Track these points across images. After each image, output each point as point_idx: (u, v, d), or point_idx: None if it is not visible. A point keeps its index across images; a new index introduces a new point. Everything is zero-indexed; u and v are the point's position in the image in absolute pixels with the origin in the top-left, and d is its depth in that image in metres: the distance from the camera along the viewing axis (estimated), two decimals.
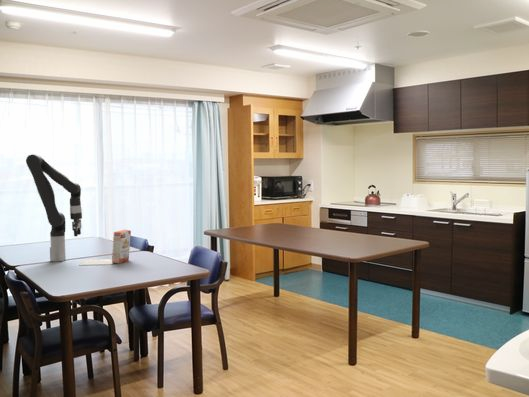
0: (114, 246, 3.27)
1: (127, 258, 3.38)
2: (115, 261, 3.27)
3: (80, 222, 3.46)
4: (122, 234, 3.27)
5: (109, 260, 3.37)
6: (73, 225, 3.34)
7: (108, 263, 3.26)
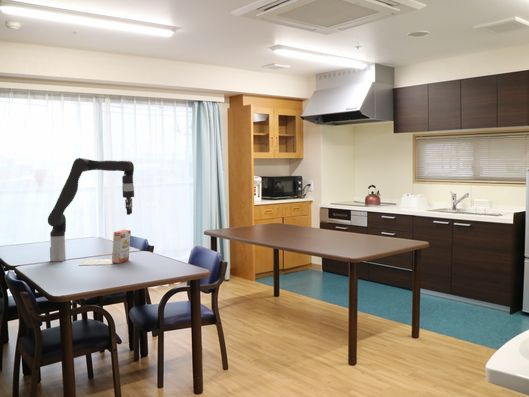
0: (114, 246, 3.27)
1: (127, 258, 3.38)
2: (115, 261, 3.27)
3: None
4: (122, 234, 3.27)
5: (109, 260, 3.37)
6: (126, 203, 3.26)
7: (108, 263, 3.26)
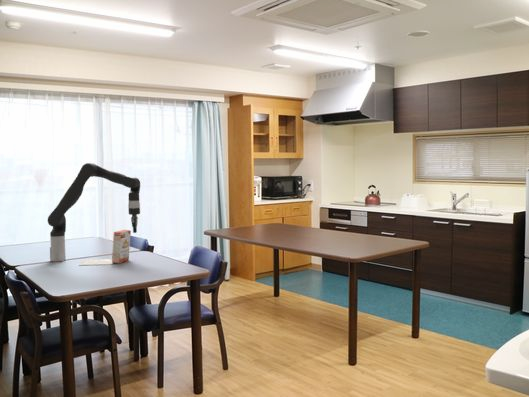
0: (114, 246, 3.27)
1: (127, 258, 3.38)
2: (115, 261, 3.27)
3: (137, 220, 3.38)
4: (122, 234, 3.27)
5: (109, 260, 3.37)
6: (133, 223, 3.29)
7: (108, 263, 3.26)
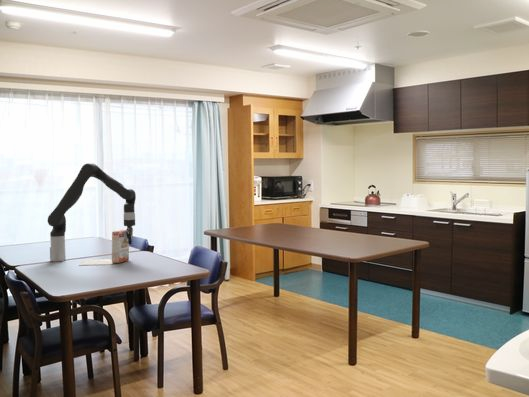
0: (113, 246, 3.27)
1: (127, 258, 3.38)
2: (115, 261, 3.27)
3: None
4: (120, 233, 3.28)
5: (109, 260, 3.37)
6: (128, 235, 3.29)
7: (108, 263, 3.26)
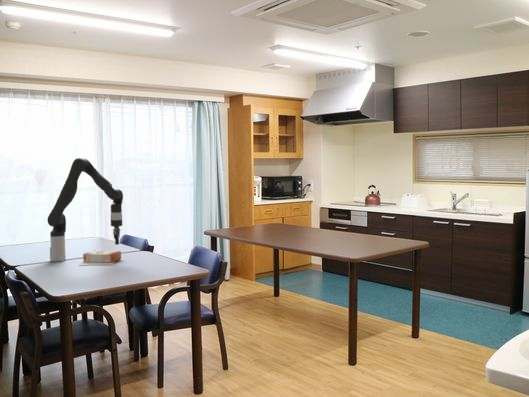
0: (95, 260, 3.30)
1: (117, 251, 3.39)
2: (109, 258, 3.28)
3: None
4: (85, 253, 3.33)
5: None
6: (115, 235, 3.28)
7: (108, 263, 3.26)
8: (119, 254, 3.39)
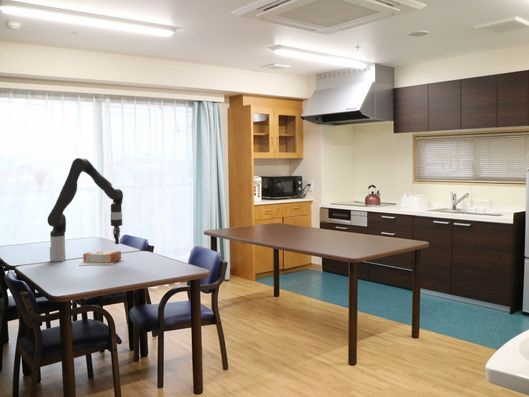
0: (95, 260, 3.30)
1: (117, 251, 3.39)
2: (109, 258, 3.28)
3: None
4: (85, 253, 3.33)
5: None
6: (114, 235, 3.28)
7: (108, 263, 3.26)
8: (119, 254, 3.39)
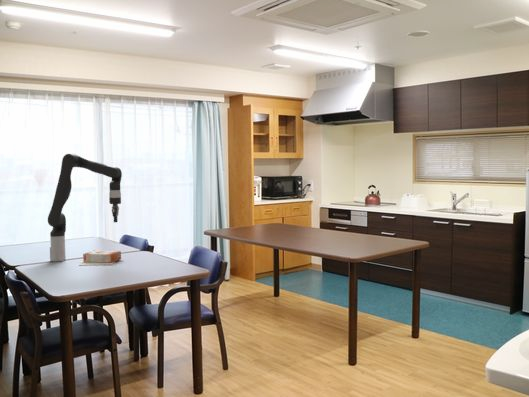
0: (95, 260, 3.30)
1: (117, 251, 3.39)
2: (109, 258, 3.28)
3: (118, 209, 3.38)
4: (85, 253, 3.33)
5: None
6: (113, 212, 3.29)
7: (108, 263, 3.26)
8: (119, 254, 3.39)
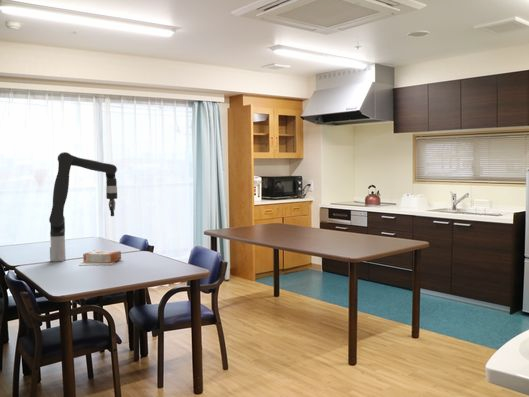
0: (95, 260, 3.30)
1: (117, 251, 3.39)
2: (109, 258, 3.28)
3: (114, 204, 3.59)
4: (85, 253, 3.33)
5: None
6: (110, 207, 3.50)
7: (108, 263, 3.26)
8: (119, 254, 3.39)
